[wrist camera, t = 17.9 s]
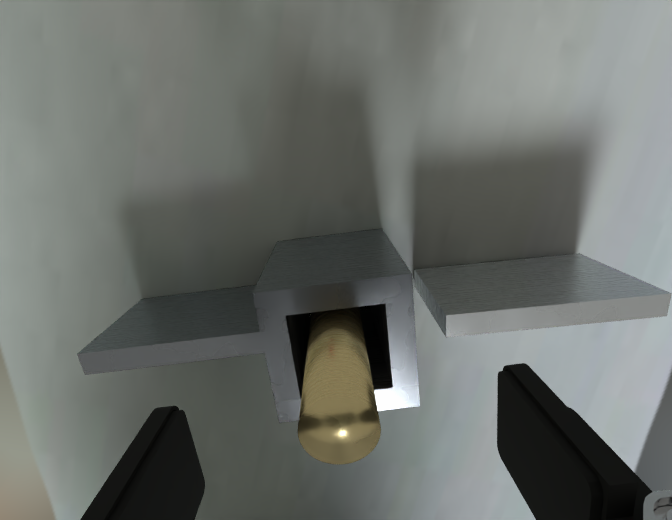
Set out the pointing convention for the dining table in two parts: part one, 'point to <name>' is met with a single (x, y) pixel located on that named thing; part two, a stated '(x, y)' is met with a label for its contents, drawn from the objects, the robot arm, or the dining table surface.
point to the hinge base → (281, 319)
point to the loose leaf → (534, 295)
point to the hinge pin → (338, 390)
